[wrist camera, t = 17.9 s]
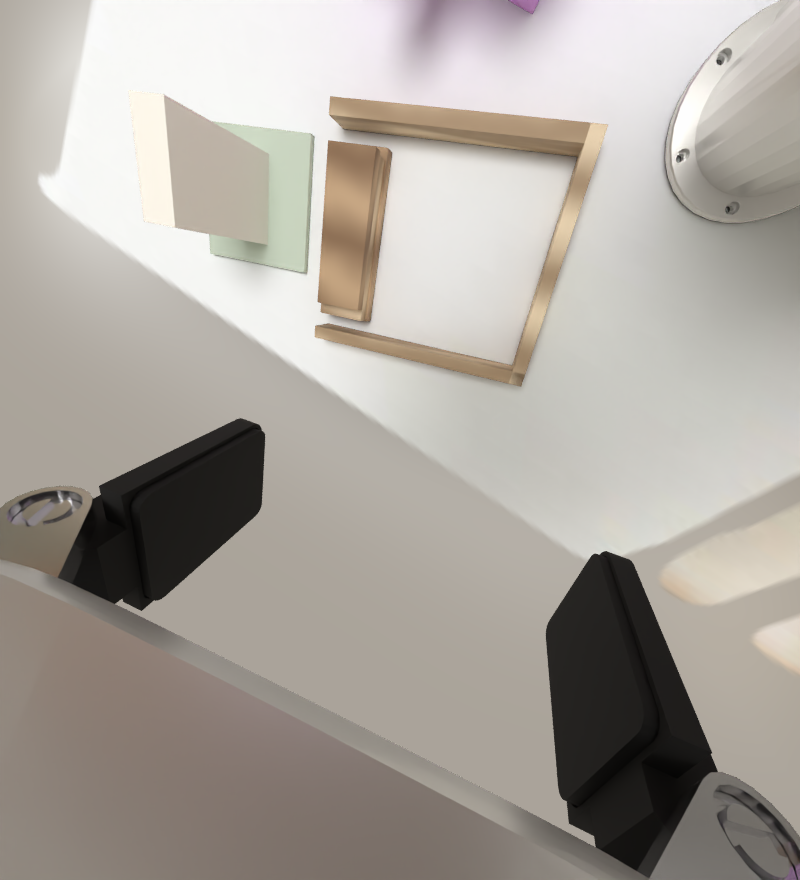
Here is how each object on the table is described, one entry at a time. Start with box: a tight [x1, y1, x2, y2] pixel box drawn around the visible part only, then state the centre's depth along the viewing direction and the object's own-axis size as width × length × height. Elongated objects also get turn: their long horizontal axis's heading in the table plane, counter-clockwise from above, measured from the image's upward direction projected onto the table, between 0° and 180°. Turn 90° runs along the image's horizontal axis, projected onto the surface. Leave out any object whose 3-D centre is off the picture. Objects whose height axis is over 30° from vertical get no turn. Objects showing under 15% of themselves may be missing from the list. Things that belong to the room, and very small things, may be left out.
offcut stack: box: [318, 140, 392, 322], centre depth 35 cm, size 15×5×4 cm, turn 170°
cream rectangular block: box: [128, 90, 269, 245], centre depth 32 cm, size 8×3×12 cm, turn 169°
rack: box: [315, 96, 608, 386], centre depth 33 cm, size 20×22×3 cm
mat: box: [209, 121, 314, 273], centre depth 37 cm, size 12×12×1 cm
